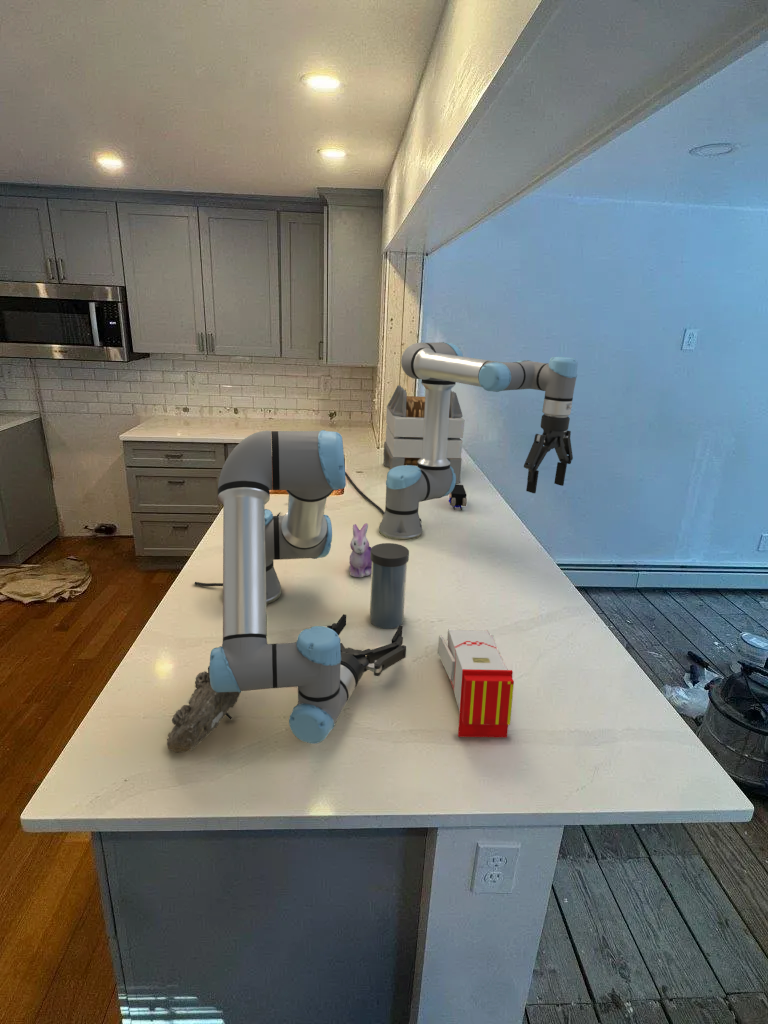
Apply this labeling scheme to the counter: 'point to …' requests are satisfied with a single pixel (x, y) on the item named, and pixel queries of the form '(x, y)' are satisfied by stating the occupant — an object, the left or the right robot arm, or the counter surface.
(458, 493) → the figurine character
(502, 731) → the toy
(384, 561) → the lid
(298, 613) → the counter surface
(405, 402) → the white slatted crate
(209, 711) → the fossil
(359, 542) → the figurine
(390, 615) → the jar
